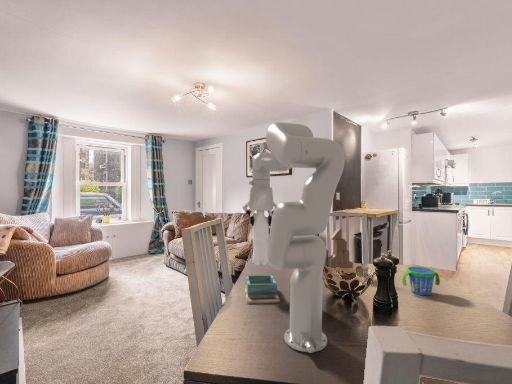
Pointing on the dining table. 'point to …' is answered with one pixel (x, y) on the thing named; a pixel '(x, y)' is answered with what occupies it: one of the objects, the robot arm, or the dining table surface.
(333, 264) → the wooden toy
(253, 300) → the bottle stand
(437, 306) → the dining table surface
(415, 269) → the snack cup
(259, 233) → the water bottle
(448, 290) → the dining table surface
